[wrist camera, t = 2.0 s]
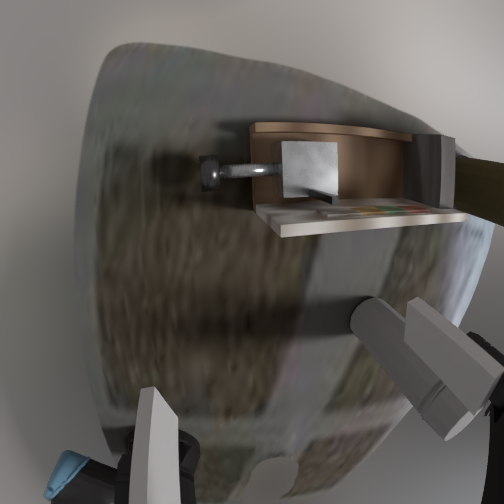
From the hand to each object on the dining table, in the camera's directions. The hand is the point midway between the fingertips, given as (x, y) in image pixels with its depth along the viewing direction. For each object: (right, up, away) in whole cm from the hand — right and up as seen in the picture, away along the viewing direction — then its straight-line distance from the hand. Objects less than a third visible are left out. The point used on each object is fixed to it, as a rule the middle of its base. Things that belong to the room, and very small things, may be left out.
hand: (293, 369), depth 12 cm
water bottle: (+17, -4, +29) cm, 34 cm away
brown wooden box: (+10, +16, +21) cm, 28 cm away
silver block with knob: (-1, +15, +17) cm, 23 cm away
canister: (+36, +18, +25) cm, 48 cm away
